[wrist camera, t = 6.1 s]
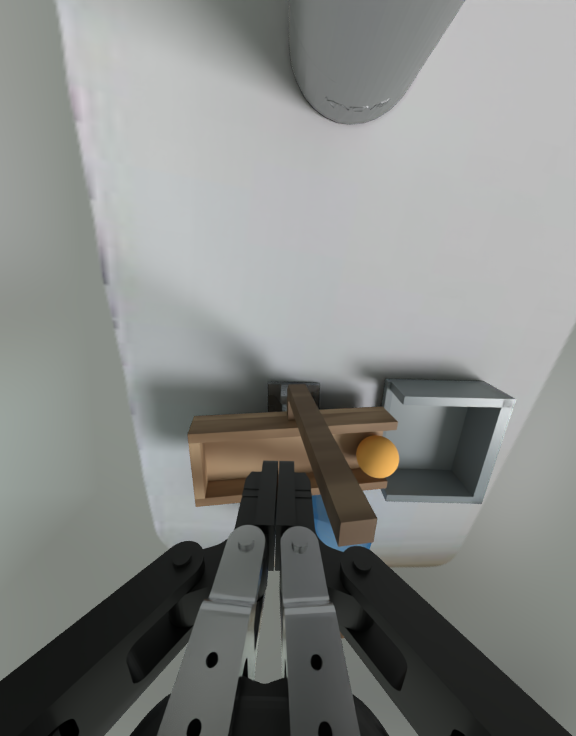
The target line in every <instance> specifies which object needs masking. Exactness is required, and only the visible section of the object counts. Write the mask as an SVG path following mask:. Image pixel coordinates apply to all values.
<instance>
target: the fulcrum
mask: <svg viewBox="0 0 576 736" xmlns="http://www.w3.org/2000/svg"><path fill="white" fill-rule="evenodd" d="M288 384H305V385H306V386H307V388H308V390H309V392H310V394H311V396H312V398H313V399H314V401H315V403H316V405H317V407H318V408H319V393H320V383H303V382H268V412H284V411H287V387H288Z"/></svg>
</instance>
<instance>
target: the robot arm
mask: <svg viewBox="0 0 576 736" xmlns="http://www.w3.org/2000/svg"><path fill="white" fill-rule="evenodd" d="M464 2H465V0H289V51H290V58H291V65H292V69H293V72H294V75H295V78H296V82H297V84H298V85H299V87H300V89H301V91H302V93H303V95H304V97H305V98H306V99H307V100H308V102H309V103H310V104H311V105H312V107H313V108H314V109H315V110H317V111H318V112H319V113H321V114H322V115H323V116H324V117H326V118H329V119H331V120H333V121H335V122H338V123H344V124H360V123H365V122H368V121H371V120H374V119H376V118H378V117H380V116H381V115H383V114H384V113H386V112H387V111H389V110H390V109H391V108H392V107H393V106H394V105H395V104H396V103H397V102H398V101H399V100H400V99H401V98H402V97H403V95H404V94H405V93H406V91H407V90H408V88H409V87H410V85H411V84H412V82H413V81H414V79H415V78H416V76H417V74H418V73H419V71H420V70H421V68H422V67H423V65H424V64H425V62H426V60H427V59H428V57H429V56H430V54H431V53H432V51H433V50H434V48H435V47H436V45H437V44H438V42H439V41H440V39H441V37H442V36H443V34H444V33H445V31H446V30H447V28H448V27H449V25H450V23H451V22H452V20H453V19H454V17H455V16H456V14H457V12H458V11H459V9H460V8H461V6H462V5H463V3H464ZM275 535H276V547H275ZM274 553H275V570H276V571H280V591H279V598H280V627H281V654H282V655H281V656H282V679H279V680H276V681H273V682H270V683H268V684H262V683H259V682H256V681H254V678H255V664H256V655H257V648H258V641H259V634H260V627H261V620H262V613H263V607H264V599H265V590H266V587H267V578H268V571H273V570H274ZM340 632H341V634H342V635H343V636H344V637H345V639H346V640H347V641H348V643H349V644H350V645H351V647H352V648H353V649H354V651H355V652H356V653H357V655H358V656H359V657H360V659H361V660H362V661H363V663H364V664H365V665H366V667H367V668H368V669H369V670H370V672H371V673H372V674H373V676H374V677H375V678H376V680H377V681H378V682H379V683H380V685H381V686H382V688H383V689H384V690H385V691H386V693H387V694H388V695H389V697H390V698H391V699H392V701H393V702H394V703H395V705H396V706H397V707H398V709H399V710H400V711H401V713H402V714H403V715H404V717H405V718H406V719H407V721H408V722H409V723H410V725H411V726H412V727H413V728H414V730H415V731H416V732H417V734H418V735H419V736H572V735H571V734H570V733H569V732H568V731H566V730H565V729H564V728H563V727H562V726H561V725H560V724H559V723H558V722H557V721H556V720H555V719H553V718H552V717H551V716H550V715H549V714H548V713H547V712H546V711H545V710H544V709H543V708H542V707H540V706H539V705H538V704H537V703H536V702H535V701H534V700H533V699H532V698H531V697H530V696H529V695H527V694H526V693H525V692H524V691H523V690H522V689H521V688H520V687H519V686H518V685H516V684H515V683H514V682H513V681H512V680H511V679H510V678H509V677H508V676H507V675H506V674H505V673H503V672H502V671H501V670H500V669H499V668H498V667H497V666H496V665H495V664H494V663H493V662H492V661H490V660H489V659H488V658H487V657H486V656H485V655H484V654H483V653H482V652H481V651H480V650H478V649H477V648H476V647H475V646H474V645H473V644H472V643H471V642H470V641H469V640H468V639H467V638H466V637H464V636H463V635H462V634H461V633H460V632H459V631H458V630H457V629H456V628H455V627H454V626H452V625H451V624H450V623H449V622H448V621H447V620H446V619H445V618H444V617H443V616H442V615H441V614H439V613H438V612H437V611H436V610H435V609H434V608H433V607H432V606H431V605H430V604H428V602H426V601H425V600H424V599H423V598H422V597H421V596H420V595H419V594H418V593H417V592H416V591H415V590H413V589H412V588H411V587H410V586H409V585H408V584H407V583H406V582H405V581H403V579H401V578H400V577H399V576H398V575H397V574H396V573H395V572H394V571H393V570H392V569H391V568H390V567H388V566H387V565H386V564H385V563H384V562H383V561H382V560H381V559H380V558H379V557H378V556H377V555H375V554H374V553H373V552H372V551H371V550H369V549H367V548H365V547H362V546H351V547H349V548H347V549H346V550H345V551H344V552H342V551H339V550H336V549H333V548H331V547H329V546H327V545H326V544H324V543H323V542H322V541H321V540H320V539H319V537H318V536H317V534H316V531H315V523H314V513H313V503H312V493H311V483H310V480H309V478H308V476H307V475H306V473H298V472H294V461H279V476H278V461H265V460H263V465H262V472H254V471H252V472H251V473H250V474H249V475H248V477H247V478H246V479H245V484H244V489H243V493H242V498H241V502H240V507H239V512H238V516H237V521H236V525H235V529H234V531H233V532H232V533H231V534H230V535H229V537H228V539H227V540H225V541H224V542H222V543H220V544H218V545H215V546H212V547H209V548H205V549H202V547H201V546H200V545H199V544H198V543H196V542H193V541H184V542H181V543H178V544H176V545H174V546H173V547H172V548H170V549H169V550H168V551H166V552H165V553H164V554H163V555H161V556H160V557H159V558H157V559H156V560H155V561H154V562H153V563H151V564H150V565H148V566H147V567H146V568H145V569H143V570H142V571H141V572H140V573H138V574H137V575H136V576H134V577H133V578H132V579H131V580H129V581H128V582H127V583H125V584H124V585H123V586H122V587H120V588H119V589H118V590H116V591H115V592H114V593H113V594H111V595H110V596H109V597H108V598H106V599H105V600H104V601H102V602H101V603H100V604H98V605H97V606H96V607H95V608H93V609H92V610H91V611H90V612H88V613H87V614H86V615H84V616H83V617H82V618H81V619H79V620H78V621H77V622H76V623H74V624H73V625H72V626H70V627H69V628H68V629H67V630H65V631H64V632H63V633H61V634H60V635H59V636H57V637H56V638H55V639H54V640H52V641H51V642H50V643H49V644H47V645H46V646H45V647H44V648H42V649H41V650H40V651H38V652H37V653H36V654H34V655H33V656H32V657H31V658H29V659H28V660H27V661H26V662H24V663H23V664H22V665H20V666H19V667H18V668H17V669H15V670H14V671H13V672H11V673H10V674H9V675H8V676H6V677H5V678H4V679H3V680H1V681H0V736H104V735H105V734H106V733H107V732H108V731H109V730H110V729H111V728H112V726H113V725H114V724H115V723H116V722H117V721H118V720H119V719H120V718H121V716H122V715H123V714H124V713H125V712H126V711H127V710H128V709H129V707H130V706H131V705H132V704H133V703H134V702H135V701H136V700H137V699H138V698H139V696H140V695H141V694H142V693H143V692H144V691H145V690H146V689H147V687H148V686H149V685H150V684H151V683H152V682H153V681H154V680H155V679H156V677H157V676H158V675H159V674H160V673H161V672H162V671H163V670H164V669H165V667H166V666H167V665H168V664H169V663H170V662H171V661H172V660H173V659H174V658H175V656H176V655H177V654H178V653H179V652H180V650H182V649H183V647H184V646H185V645H186V644H187V643H188V644H187V647H186V650H185V654H184V656H183V659H182V662H181V665H180V668H179V671H178V674H177V678H176V681H175V683H174V686H173V689H172V692H171V694H169V695H168V696H166V697H165V698H164V699H163V700H162V701H160V702H159V703H158V704H157V705H156V706H155V707H154V708H153V709H152V710H151V711H150V712H149V713H148V714H147V715H146V716H145V717H144V719H143V720H142V721H141V722H140V723H139V725H138V726H137V727H136V728H135V730H134V731H133V732H132V733H131V735H130V736H389V735H388V733H387V732H386V730H385V729H384V727H383V726H382V724H381V723H380V722H379V720H378V719H377V718H376V716H375V715H374V714H373V713H372V711H371V710H370V709H369V708H368V707H367V706H366V705H365V704H364V703H363V702H362V701H361V700H359V699H358V698H357V697H356V696H354V695H353V694H352V691H351V686H350V681H349V676H348V671H347V666H346V661H345V656H344V651H343V646H342V641H341V636H340Z"/></svg>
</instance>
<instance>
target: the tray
mask: <svg viewBox="0 0 576 736" xmlns="http://www.w3.org/2000/svg"><path fill="white" fill-rule="evenodd" d="M515 402H516V399H515V398H513V397H511V396H510V395H508V394H506V393H504V392H502V391H501V390H499V389H497V388H495V387H493V386H492V385H490V384H488V383H486V382H484V381H453V380H413V379H385V385H384V392H383V398H382V405H381V407H382V406H383V407H384V408H385V409H386V410H387V411H388V412H389V413H390V414H391V415H392V416H393V417H394V418H395V419H396V420H397V421H398V426H397V430H390V431H383V437H385V438H387V439H389V440H390V441H391V442H392V443H393V444H394V445H395V447H396V448H397V450H398V454H399V464H398V467H397V469H396V470H395V472H394V473H393V474H391V475H390V476H388V477H385V478H386V480H387V481H388V482H387V487H386V488H383V489H381V491H382V493H383V496H384V498H385V501H392V502H431V503H471V504H482V501H483V498H484V495H485V492H486V489H487V486H488V483H489V480H490V477H491V474H492V471H493V468H494V465H495V462H496V459H497V456H498V453H499V450H500V447H501V444H502V441H503V438H504V435H505V432H506V429H507V426H508V423H509V420H510V417H511V414H512V411H513V408H514V405H515Z"/></svg>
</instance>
